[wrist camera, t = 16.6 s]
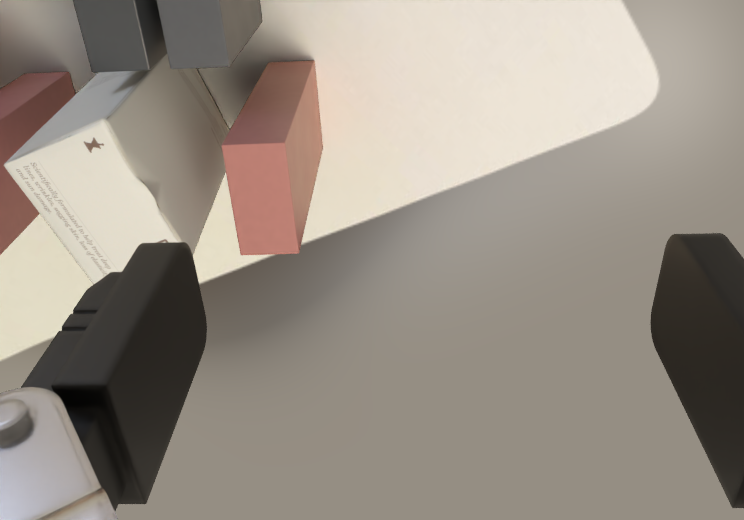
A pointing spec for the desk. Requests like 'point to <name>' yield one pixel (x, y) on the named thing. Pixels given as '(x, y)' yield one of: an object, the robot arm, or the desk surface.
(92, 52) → the grey book
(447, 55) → the desk surface
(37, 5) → the desk surface
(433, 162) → the desk surface
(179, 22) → the grey book
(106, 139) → the cosmetic box
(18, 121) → the rose book
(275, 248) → the rose book
